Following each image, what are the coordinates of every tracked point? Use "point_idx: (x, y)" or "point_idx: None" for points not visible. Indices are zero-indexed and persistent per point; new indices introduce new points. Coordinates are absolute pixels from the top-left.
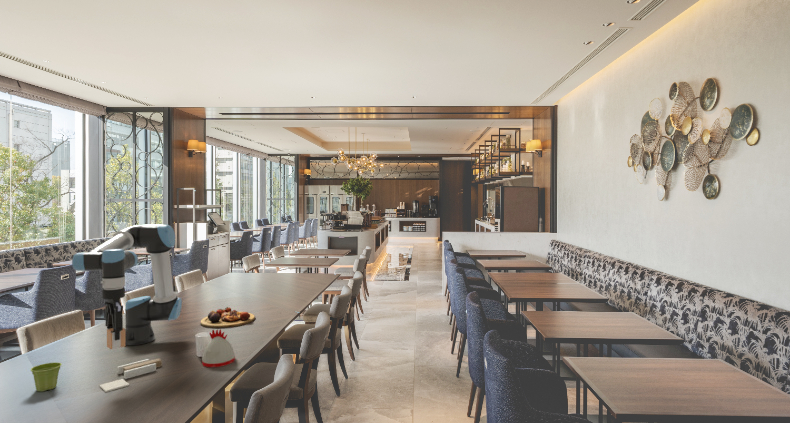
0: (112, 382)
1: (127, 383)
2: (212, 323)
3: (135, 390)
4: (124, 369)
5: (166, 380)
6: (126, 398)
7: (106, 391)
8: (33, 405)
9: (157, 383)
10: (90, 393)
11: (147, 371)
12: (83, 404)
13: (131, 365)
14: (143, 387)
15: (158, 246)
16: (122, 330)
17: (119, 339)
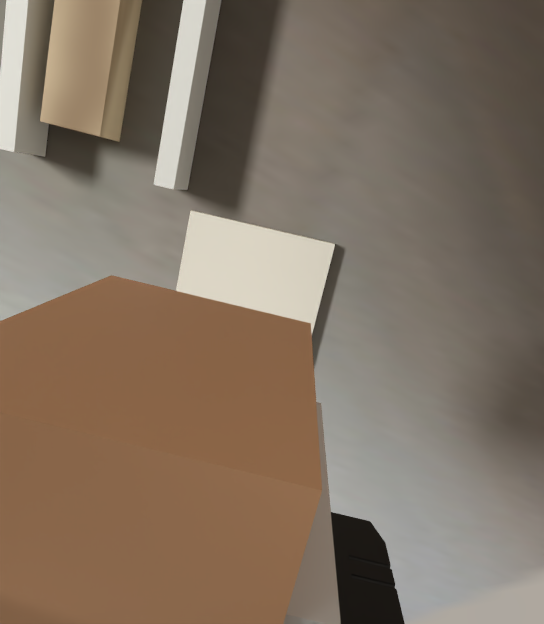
0: (197, 283)
1: (313, 244)
2: None
3: (455, 270)
4: (69, 128)
5: (512, 38)
6: (517, 369)
7: None
8: None
9: (495, 115)
10: None
11: (215, 13)
12: (353, 516)
13: (48, 55)
14: (461, 213)
15: None
16: (301, 542)
17: (368, 524)
